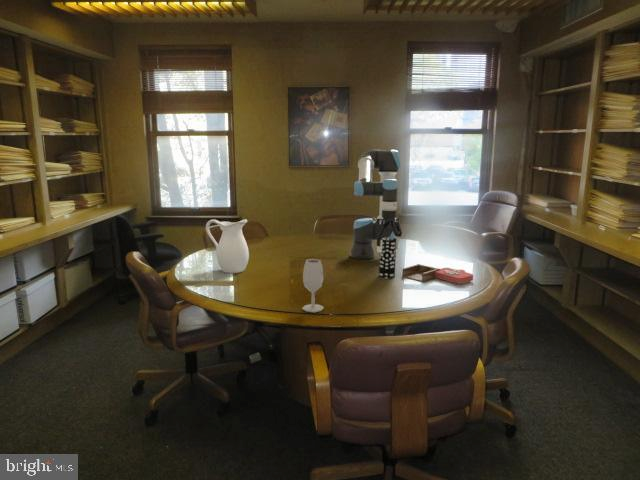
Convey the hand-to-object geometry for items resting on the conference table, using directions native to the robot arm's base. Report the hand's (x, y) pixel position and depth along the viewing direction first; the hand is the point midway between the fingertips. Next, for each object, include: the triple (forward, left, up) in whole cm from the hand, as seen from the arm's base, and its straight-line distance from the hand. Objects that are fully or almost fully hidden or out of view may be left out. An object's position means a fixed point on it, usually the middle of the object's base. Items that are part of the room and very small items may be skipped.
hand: (387, 250), depth 246 cm
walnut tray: (+13, +12, -14) cm, 23 cm away
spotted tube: (0, 0, -14) cm, 14 cm away
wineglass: (+11, -63, -14) cm, 65 cm away
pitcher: (-66, -55, -14) cm, 87 cm away
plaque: (+27, +21, -14) cm, 37 cm away
